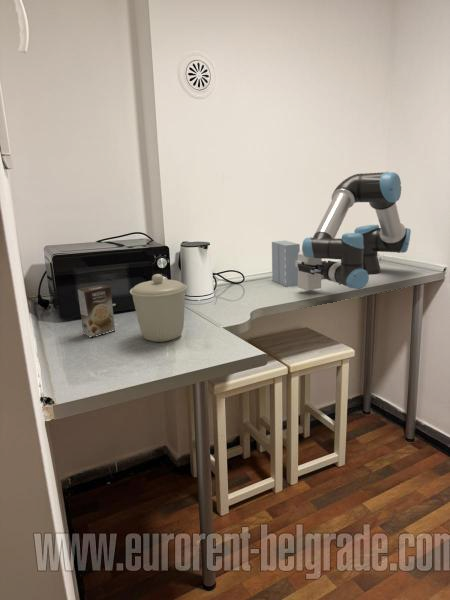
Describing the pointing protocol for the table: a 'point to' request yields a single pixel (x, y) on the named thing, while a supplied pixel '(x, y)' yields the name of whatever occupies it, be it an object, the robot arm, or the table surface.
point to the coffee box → (96, 310)
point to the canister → (160, 308)
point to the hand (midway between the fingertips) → (304, 262)
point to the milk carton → (307, 279)
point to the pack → (285, 262)
